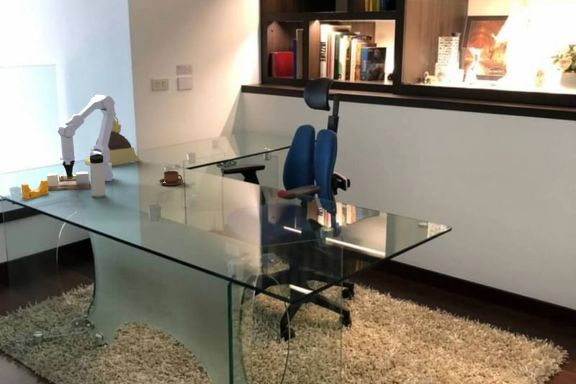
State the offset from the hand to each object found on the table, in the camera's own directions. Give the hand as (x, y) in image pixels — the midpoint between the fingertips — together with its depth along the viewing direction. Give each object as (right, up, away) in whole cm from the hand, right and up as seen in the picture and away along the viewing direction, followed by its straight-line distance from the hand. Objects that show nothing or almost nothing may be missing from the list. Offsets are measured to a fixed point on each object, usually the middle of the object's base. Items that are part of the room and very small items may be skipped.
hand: (69, 175), depth 323 cm
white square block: (-8, -6, -1) cm, 10 cm away
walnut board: (-2, -5, +1) cm, 6 cm away
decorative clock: (+7, +9, +54) cm, 55 cm away
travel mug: (+19, -10, -15) cm, 27 cm away
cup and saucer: (+49, -4, +10) cm, 50 cm away
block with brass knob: (+2, -3, +1) cm, 3 cm away
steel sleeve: (+6, -5, +3) cm, 8 cm away
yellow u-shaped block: (-10, -10, -16) cm, 22 cm away
